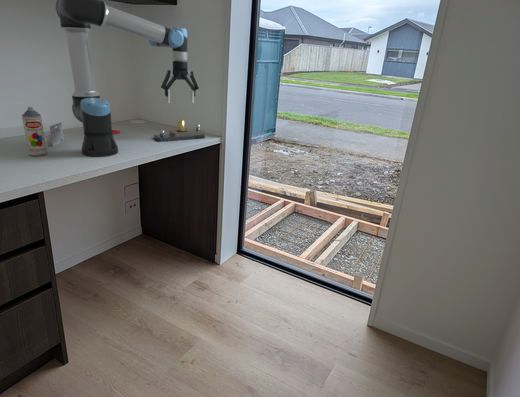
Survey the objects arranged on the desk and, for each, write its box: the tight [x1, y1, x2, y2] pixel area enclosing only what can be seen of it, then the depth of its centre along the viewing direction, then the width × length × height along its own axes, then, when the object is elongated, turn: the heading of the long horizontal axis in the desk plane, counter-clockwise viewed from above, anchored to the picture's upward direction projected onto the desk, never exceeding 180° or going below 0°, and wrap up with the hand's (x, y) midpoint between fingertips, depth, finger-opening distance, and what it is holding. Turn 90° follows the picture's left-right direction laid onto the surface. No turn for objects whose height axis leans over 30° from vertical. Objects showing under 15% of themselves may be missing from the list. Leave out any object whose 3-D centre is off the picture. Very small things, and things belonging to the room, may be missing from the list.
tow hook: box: [112, 129, 121, 135], centre depth 202 cm, size 8×13×9 cm
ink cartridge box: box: [45, 122, 65, 148], centre depth 171 cm, size 2×11×10 cm, turn 1°
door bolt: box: [153, 123, 206, 143], centre depth 199 cm, size 26×9×7 cm, turn 124°
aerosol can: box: [21, 106, 48, 158], centre depth 152 cm, size 7×7×20 cm
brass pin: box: [176, 119, 186, 132], centre depth 199 cm, size 4×4×10 cm
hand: (180, 102), depth 194 cm, fingers open, 13 cm apart
